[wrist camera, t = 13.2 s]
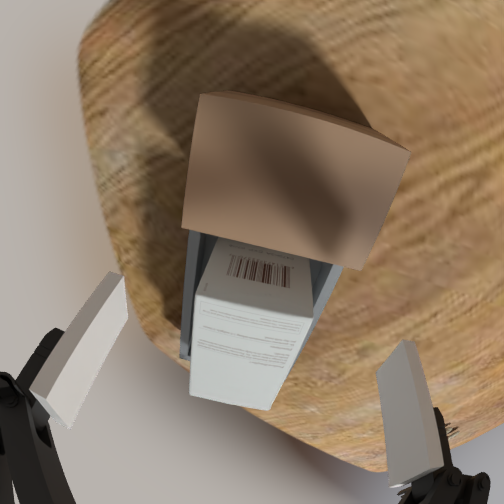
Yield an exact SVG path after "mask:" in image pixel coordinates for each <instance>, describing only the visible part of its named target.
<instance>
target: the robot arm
mask: <svg viewBox="0 0 504 504" xmlns="http://www.w3.org/2000/svg"><path fill="white" fill-rule="evenodd" d="M127 319H128V312H127V304H126V294H125V283H124V276H123V275H120V274H116V273H113V272H108V274H107V275H106V276H105V278H104V279H103V280H102V282H101V283H100V284H99V285H98V287H97V288H96V289H95V291H94V292H93V293H92V295H91V296H90V298H89V299H88V300H87V302H86V303H85V304H84V306H83V307H82V308H81V310H80V311H79V313H78V314H77V315H76V317H75V318H74V320H73V321H72V323H71V324H70V325H69V327H68V328H67V330H66V331H65V332H64V331H62V330H60V329H58V328H54V329H53V330H51V331H50V332H49V333H47V334H46V335H45V336H44V338H43V339H42V341H41V342H40V344H39V346H38V347H37V348H36V350H35V351H34V353H33V354H32V355H31V357H30V359H29V360H28V362H27V363H26V365H25V366H24V368H23V369H22V371H21V373H20V374H19V376H18V377H17V379H16V380H14V378H13V377H12V376H11V375H10V374H8V373H7V372H0V504H15V502H14V494H13V485H12V481H13V484H14V487H15V491H16V494H17V497H18V500H19V503H20V504H76V502H75V500H74V498H73V495H72V493H71V491H70V488H69V486H68V483H67V480H66V478H65V475H64V472H63V469H62V466H61V463H60V461H59V457H58V454H57V451H56V448H55V445H54V441H53V437H52V434H51V430H50V426H49V423H48V420H49V418H50V416H51V417H52V418H53V420H54V421H55V422H57V423H59V424H61V425H62V426H64V427H66V428H68V429H71V427H72V425H73V423H74V421H75V418H76V416H77V414H78V412H79V410H80V408H81V405H82V404H83V402H84V399H85V398H86V396H87V393H88V392H89V390H90V387H91V385H92V383H93V382H94V380H95V378H96V376H97V374H98V372H99V370H100V368H101V366H102V364H103V362H104V360H105V359H106V357H107V355H108V353H109V351H110V349H111V348H112V346H113V344H114V342H115V340H116V338H117V337H118V335H119V333H120V331H121V330H122V328H123V326H124V324H125V322H126V321H127ZM376 377H377V383H378V389H379V396H380V402H381V409H382V417H383V425H384V433H385V443H386V453H387V465H388V479H389V488H392V487H400V486H404V485H406V484H409V483H411V485H412V486H411V487H408V488H406V489H404V490H401V491H400V492H399V493H398V494H397V495H401V494H403V493H405V494H404V495H403V496H401V498H402V499H401V501H400V502H399V503H398V504H487V501H488V496H489V490H490V478H489V476H488V475H487V474H486V473H485V472H481V473H479V474H477V475H475V476H469V475H464V474H462V472H461V471H460V470H459V469H458V468H456V467H454V466H453V464H452V460H451V453H450V448H449V442H448V437H447V436H446V435H447V432H446V428H445V423H444V419H443V416H442V414H441V412H440V410H439V409H438V407H435V408H433V406H432V402H431V397H430V393H429V390H428V386H427V382H426V378H425V375H424V371H423V368H422V364H421V361H420V357H419V354H418V351H417V348H416V345H415V341H408V340H402V341H401V342H400V343H399V345H398V346H397V347H396V349H395V350H394V351H393V352H392V354H391V355H390V356H389V357H388V358H387V360H386V361H385V362H384V363H383V364H382V366H381V367H380V368H379V369H378V370H377V372H376Z"/></svg>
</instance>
